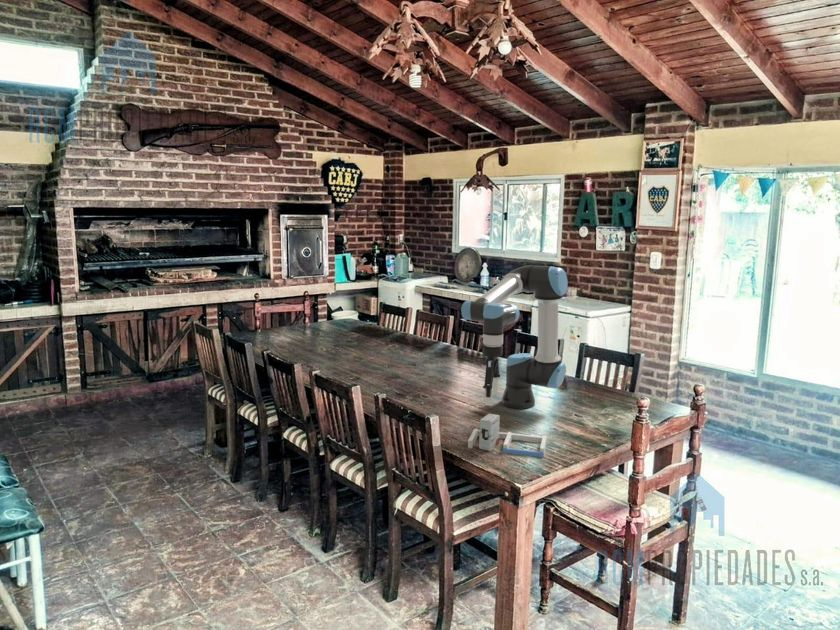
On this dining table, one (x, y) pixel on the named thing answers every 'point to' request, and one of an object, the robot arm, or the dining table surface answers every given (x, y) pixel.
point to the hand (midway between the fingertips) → (491, 399)
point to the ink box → (489, 432)
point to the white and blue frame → (512, 436)
